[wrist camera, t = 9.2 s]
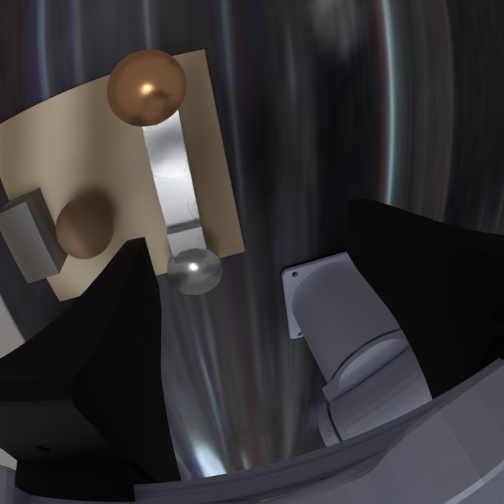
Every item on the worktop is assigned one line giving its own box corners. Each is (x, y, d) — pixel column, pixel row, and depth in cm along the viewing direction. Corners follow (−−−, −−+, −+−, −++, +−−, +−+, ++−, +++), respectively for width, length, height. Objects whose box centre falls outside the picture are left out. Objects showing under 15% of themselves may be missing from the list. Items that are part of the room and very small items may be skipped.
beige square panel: (202, 51, 16) (208, 44, 13) (242, 246, 23) (253, 273, 20) (-7, 129, 14) (-34, 141, 11) (64, 295, 21) (54, 324, 19)
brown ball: (95, 204, 14) (38, 230, 14) (122, 258, 17) (70, 280, 16) (101, 178, 17) (52, 201, 17) (123, 226, 19) (76, 246, 19)
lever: (222, 270, 22) (239, 331, 17) (174, 281, 22) (179, 345, 17) (181, 54, 14) (186, 41, 9) (120, 69, 14) (95, 63, 9)
